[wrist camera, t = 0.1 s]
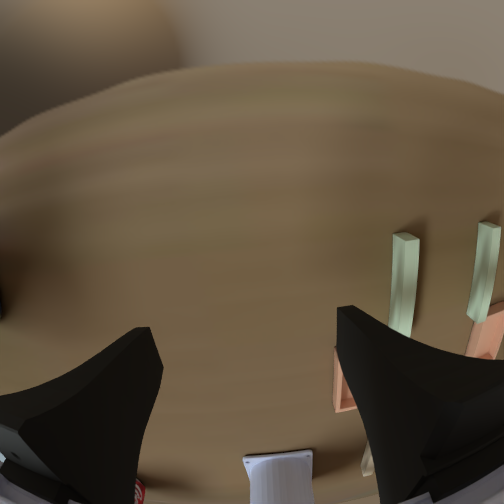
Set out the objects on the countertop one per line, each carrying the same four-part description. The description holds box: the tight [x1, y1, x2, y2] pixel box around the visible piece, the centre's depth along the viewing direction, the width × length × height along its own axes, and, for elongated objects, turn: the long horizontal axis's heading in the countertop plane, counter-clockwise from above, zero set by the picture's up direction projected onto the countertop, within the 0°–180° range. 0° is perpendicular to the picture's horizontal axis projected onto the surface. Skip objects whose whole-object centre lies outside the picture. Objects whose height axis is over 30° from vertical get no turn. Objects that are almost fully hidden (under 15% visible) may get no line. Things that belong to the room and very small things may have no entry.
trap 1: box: [332, 347, 357, 413], centre depth 23 cm, size 7×4×2 cm, turn 8°
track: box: [360, 222, 501, 476], centre depth 23 cm, size 32×10×2 cm, turn 8°
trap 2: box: [465, 301, 504, 360], centre depth 22 cm, size 7×4×2 cm, turn 8°
